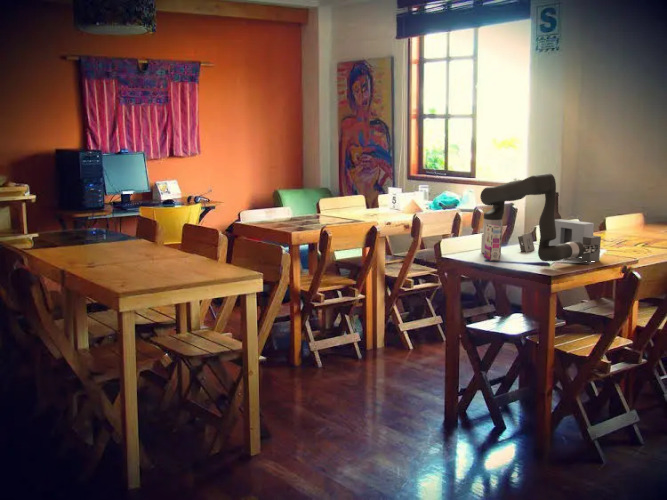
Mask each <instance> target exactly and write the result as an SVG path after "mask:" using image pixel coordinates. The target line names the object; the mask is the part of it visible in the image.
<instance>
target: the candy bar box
mask: <svg viewBox="0 0 667 500" xmlns="http://www.w3.org/2000/svg"><path fill="white" fill-rule="evenodd" d="M501 229H502V230H503V226H502V227H500V226H498V225H495V224H486V232H485V252H484V253H483V254H484V255H483V257H484V258H485V259H487V260H488V261H491V262H499V261H501V253H500V247H501V248H502V238H501Z"/></svg>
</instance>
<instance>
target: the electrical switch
mask: <svg viewBox="0 0 667 500" xmlns="http://www.w3.org/2000/svg"><path fill="white" fill-rule="evenodd" d="M517 239H518V243H519V248H520V251H521V252H525V253H528V252H531V251H534V250H535V245H534V240H533V236H532V232H526V233H523V234H521V236H517Z"/></svg>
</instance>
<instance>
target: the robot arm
mask: <svg viewBox="0 0 667 500" xmlns="http://www.w3.org/2000/svg"><path fill="white" fill-rule="evenodd" d="M556 192H557V183H556V178H555V176H554V175H553V174H552V173H551V172H546V173H538V174H533V175H531V176H528V177H526V178H524V179H517V180H511V181H509V182H505V183H503V184H500V185H497V186H489V187H484V188H483V189H482V190H481V192H480V201H481V203H482V204H483V205H484V206H488V207H489V206H491V207H492V208H491V209H489V210H488V211H486V212H484V214H483V225H482V227H483V229H482V233H481V245H480V247H481V248H480V253H482V254H484V252H485V232H486V224H495V225H498V226H500V227H502V229H501V239H502V236H503V235H502V234H503V233H502V232H503V216H504V212H505V204H506V202H514V201H519V200H523V199H524V198H525V197H526V196H539V195H544V196H545V198H544V199H545V202H544V206H543V209H542V210H541V214H540V217H539V221H538V227H539V242H538V243H539V244H538V249H537V256H538V258H539V259H540V261H541V262H558V261H562V260H567V259H577V258H576V257H580V256H582V255H583V253H587V252H591V253H595V252H597V250H598V245H593V246H591V245H583V244H582V243H581V242H579V241H574V242H568V243H564V244H559V245H555V246H549V242H550V241H551V240H554V239H556V227H555V198H556ZM587 246H588V247H587ZM501 252H502V246H501V247H500V254H501Z"/></svg>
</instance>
